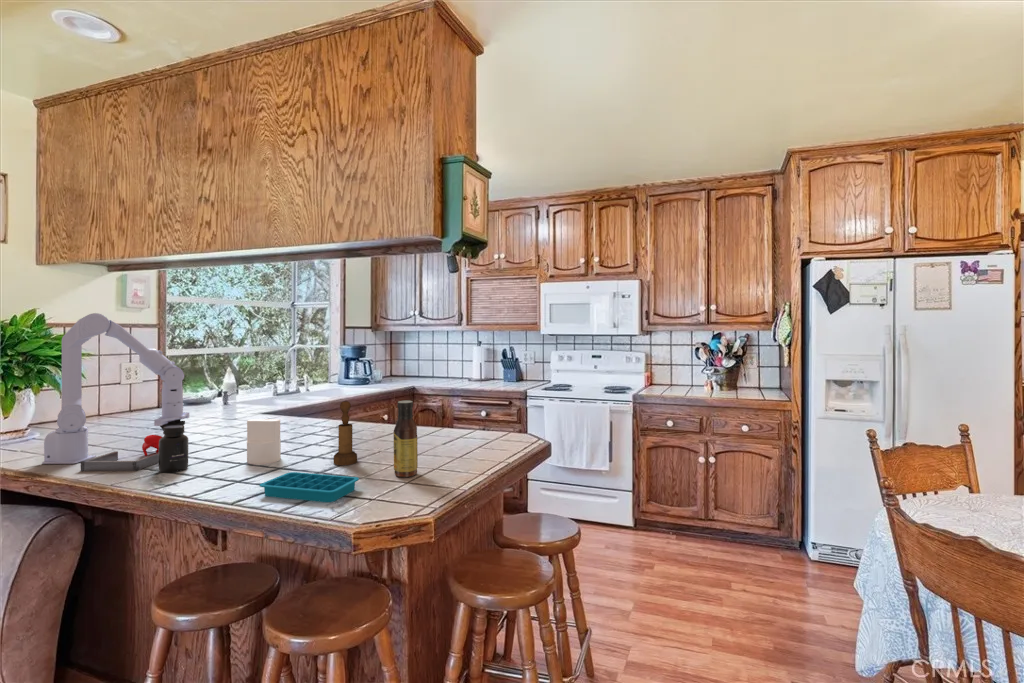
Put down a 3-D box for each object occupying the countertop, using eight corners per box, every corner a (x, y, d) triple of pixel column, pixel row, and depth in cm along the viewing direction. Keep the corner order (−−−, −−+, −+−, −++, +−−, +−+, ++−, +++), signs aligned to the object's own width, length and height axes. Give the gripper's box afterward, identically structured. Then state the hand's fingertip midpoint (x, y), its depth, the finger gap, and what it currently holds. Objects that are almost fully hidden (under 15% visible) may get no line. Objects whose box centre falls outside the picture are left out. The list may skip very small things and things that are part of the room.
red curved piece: (133, 446, 152) (146, 437, 151) (146, 435, 158) (159, 426, 157) (152, 465, 154) (166, 456, 153) (165, 454, 160) (178, 445, 159)
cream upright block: (286, 456, 153) (286, 417, 153) (271, 464, 144) (270, 423, 144) (257, 456, 153) (257, 417, 153) (240, 464, 144) (240, 422, 144)
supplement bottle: (177, 473, 135) (177, 429, 134) (152, 473, 135) (152, 428, 134) (194, 466, 141) (193, 424, 141) (170, 466, 142) (170, 424, 141)
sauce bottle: (397, 471, 137) (397, 399, 137) (420, 471, 137) (420, 399, 136) (390, 478, 130) (390, 402, 130) (414, 478, 130) (413, 402, 130)
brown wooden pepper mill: (347, 466, 142) (346, 403, 142) (328, 464, 144) (328, 402, 144) (361, 460, 148) (361, 400, 148) (343, 458, 150) (343, 399, 150)
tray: (80, 471, 136) (80, 461, 136) (114, 459, 148) (114, 451, 148) (136, 470, 137) (136, 461, 137) (165, 459, 149) (165, 451, 149)
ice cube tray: (333, 505, 111) (333, 492, 111) (256, 498, 116) (256, 485, 116) (361, 489, 122) (361, 477, 122) (290, 483, 127) (290, 471, 127)
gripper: (170, 405, 156) (170, 448, 156) (198, 399, 171) (198, 439, 171) (147, 405, 156) (147, 449, 156) (177, 399, 170) (177, 439, 171)
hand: (172, 443), depth 164 cm, fingers closed
